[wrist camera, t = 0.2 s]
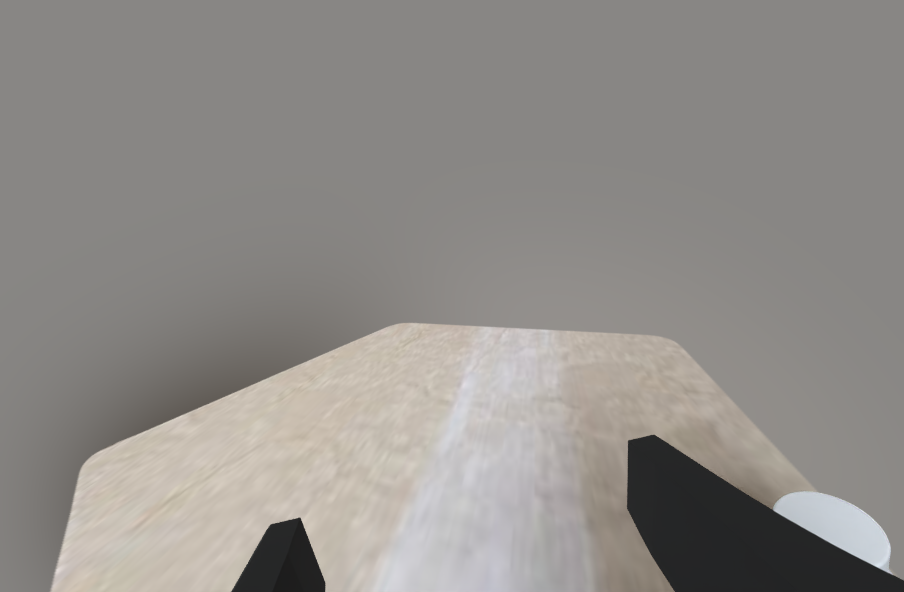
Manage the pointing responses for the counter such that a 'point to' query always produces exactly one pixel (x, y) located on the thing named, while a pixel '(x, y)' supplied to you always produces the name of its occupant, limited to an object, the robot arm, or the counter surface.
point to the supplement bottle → (838, 525)
